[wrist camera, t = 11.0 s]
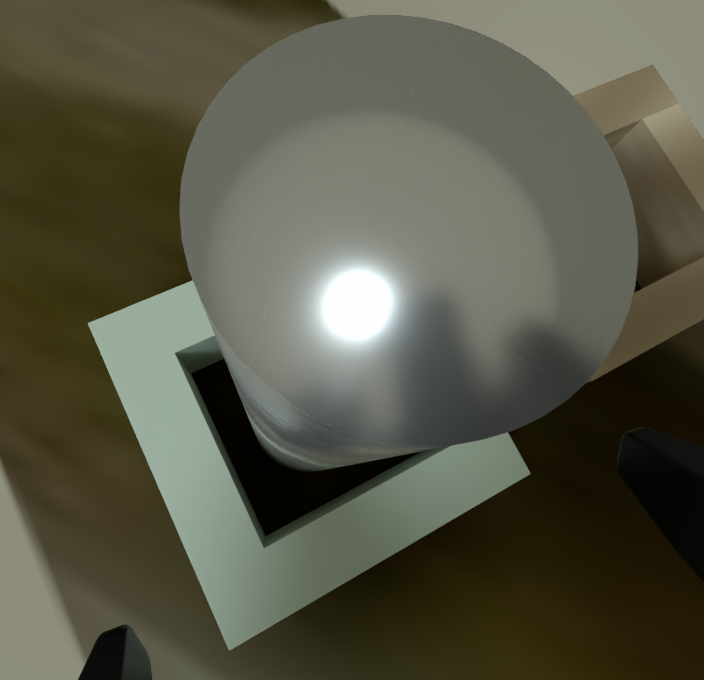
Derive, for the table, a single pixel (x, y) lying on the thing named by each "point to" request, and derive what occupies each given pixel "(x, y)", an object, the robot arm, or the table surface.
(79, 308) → the table surface
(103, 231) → the table surface
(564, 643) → the table surface
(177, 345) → the socket block
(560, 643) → the table surface
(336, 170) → the axle
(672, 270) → the brown square frame
